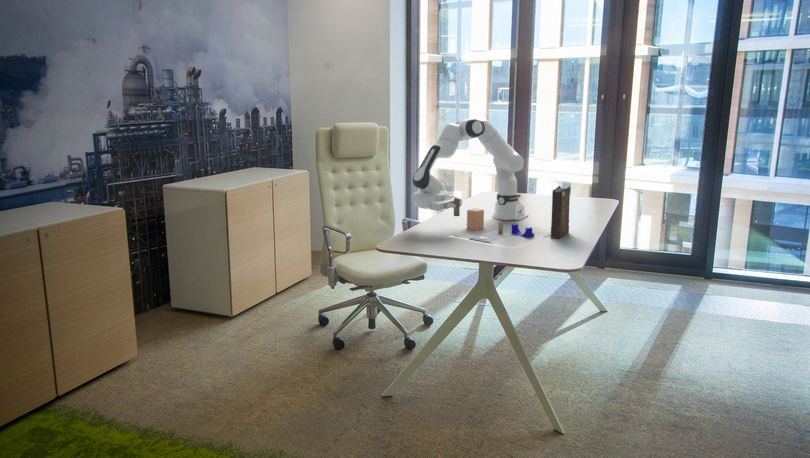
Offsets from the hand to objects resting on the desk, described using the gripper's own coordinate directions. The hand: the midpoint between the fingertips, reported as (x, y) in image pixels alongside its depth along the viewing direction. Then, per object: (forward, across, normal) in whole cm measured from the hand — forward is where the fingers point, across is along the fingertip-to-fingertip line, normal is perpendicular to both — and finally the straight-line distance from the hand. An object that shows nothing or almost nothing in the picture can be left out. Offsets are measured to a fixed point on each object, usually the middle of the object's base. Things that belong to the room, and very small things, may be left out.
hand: (458, 205), depth 331 cm
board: (+16, +8, +16) cm, 24 cm away
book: (+39, +35, +17) cm, 55 cm away
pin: (-1, 0, +6) cm, 6 cm away
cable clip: (+27, +20, +17) cm, 37 cm away
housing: (-1, +17, +16) cm, 23 cm away
